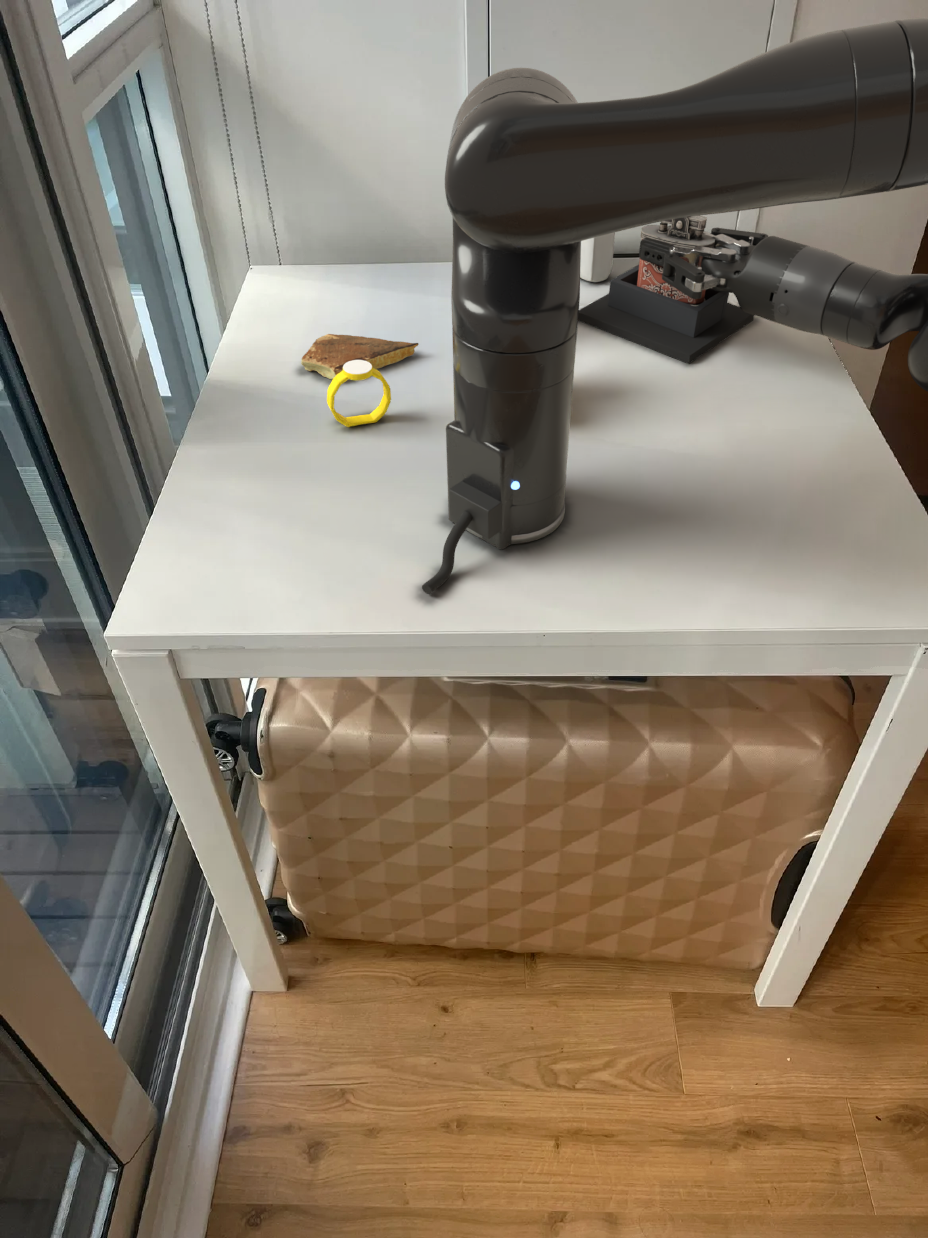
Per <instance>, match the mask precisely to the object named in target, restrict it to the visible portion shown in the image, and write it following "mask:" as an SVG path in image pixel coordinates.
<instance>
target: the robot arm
mask: <svg viewBox="0 0 928 1238" xmlns="http://www.w3.org/2000/svg"><path fill="white" fill-rule="evenodd" d="M450 133H451V134H450V140H449V144H448V149H447V155H446V160H445V161H446V162H445V171H444V192H445V194H444V195H445V199H446V203H447V207H448V209H449V212H450V214H451V216H452V217H451V218H452V260H451V261H452V263H451V265H452V266H451V288H450V289H451V291H450V293H451V295H450V297H451V298H450V300H451V325H452V326H451V327H452V329H451V330H452V331H451V332H452V373H453V375H452V376H453V413H454V416H453V417H454V418H453V419H454V420H452V421H450V422H448V424H447V425H446V426H445V445H446V446H445V447H446V477H447V478H446V479H447V480H446V481H447V507H448V508H447V509H448V521H450V522H452V523H453V524H454V525H453V526H452V528H451V530H450V531H449V533H448V535H447V538H446V539H445V541H444V545H443V549H442V562H441V566H440V568H439V570H438V571H437V573H436V574H435V575H434V576H432V577H431V578H429V579H428V580H426V582H424V583H423V584H422V585H421V589H422V591H423V592H424V593H425V594H426V595H431V594H432V593H433V592H434V591H435V590H437V589H438V588H440V587H441V586H442V585H443V584H445V583H446V581H447V580H448V579H449V577H450V576H451V574H452V572H453V570H454V566H455V554H456V549H457V546H458V544H459V541H460V540H461V538H462V536H463V534H464V533H465V532H466V531H467V532H469V533H470V534H472V536H475V537H477V538H479V539H481V540H483V541H484V542H486V543H488V544H490V545H492V546H493V547H495V548H497V549H499V550H505V549H506V548H507V547H509V546H511V545H515V544H525V543H530V542H535V541H537V540H540V539H542V538H545V537H547V536H549V535H550V534H552V533H553V532H554V531H555V530H557V528H559V526H560V525H561V524H562V523H563V520H564V518H565V514H566V485H567V483H566V482H567V471H568V470H567V469H568V458H569V457H568V456H569V443H570V429H571V417H572V416H571V415H572V403H573V388H574V377H575V363H576V354H577V353H576V352H577V341H578V340H577V338H578V337H577V336H578V325H579V323H578V322H579V321H578V312H579V310H580V300H581V299H580V298H581V278H580V262H581V241H583V240H587V239H591V238H594V237H598V236H602V235H606V234H610V233H614V232H615V233H618V232H623V231H626V230H631V229H634V228H638V227H644V226H647V225H653V224H655V223H656V224H657V223H661V221H666V220H671V219H677V218H683V217H691V216H698V215H700V216H707V215H716V214H717V215H718V214H725V213H733V212H742V211H749V210H757V209H763V208H771V207H777V206H784V205H792V204H802V203H811V202H812V203H813V202H822V201H831V200H839V199H845V198H846V199H847V198H851V197H859V196H866V195H874V194H880V193H881V194H882V193H887V192H893V191H898V190H899V191H900V190H905V189H911V188H916V187H920V186H921V187H922V186H928V17H913V18H911V17H910V18H901V19H897V20H896V19H895V20H893V21H887V22H879V23H874V24H868V25H862V26H856V27H851V28H850V27H849V28H845V29H837V30H832V31H827V32H823V33H819V34H815V35H811V36H808V37H803V38H801V39H797V40H794V41H791V42H788V43H785V44H782V45H780V46H778V47H774V48H772V49H770V50H767V51H765V52H763V53H761V54H757V55H756V56H754V57H750V58H749V59H747V60H744V61H743V62H740V63H738V64H736V65H734V66H732V67H730V68H727V69H725V70H724V71H721V72H719V73H717V74H715V75H712V76H710V77H707V78H706V79H703V80H701V81H698V82H695V83H693V84H690V85H687V86H685V87H682V88H679V89H674V90H670V91H666V92H663V93H658V94H652V95H646V96H640V97H629V98H620V99H611V100H603V101H602V100H601V101H587V102H585V101H584V102H578V101H577V99H576V97H575V96H574V94H573V93H572V92H571V90H570V89H568V87H567V86H566V85H565V84H563V83H562V81H560V80H559V79H558V78H556V77H555V76H553V75H551V74H550V73H548V72H545V71H542V70H539V69H536V68H532V67H512V68H507V69H504V70H500V71H497V72H495V73H493V74H491V75H489V76H488V77H486V78H484V79H483V80H482V81H480V82H479V83H478V84H477V85H476V86H474V88H472V90H471V91H470V92H469V93H468V95H467V96H466V97H465V98H464V100H463V102H462V104H461V105H460V107H459V109H458V111H457V113H456V116H455V119H454V121H453V125H452V128H451V132H450ZM671 225H672V224H669V225H668V226H669V227H671ZM710 230H711V232H708V231H705V230H704V232H703V234H705V235H709V236H712V238H713V239H715V244H714V248H708V247H703V246H695V247H694V248H693V249H687V248H682V247H677V246H674V245H671V244H668V243H665V242H661V241H657V240H654V239H651V238H645V239H643V240H642V239H641V240H640V241H639V251H638V257H639V260H640V259H641V260H644V261H647V262H650V263H653V264H656V265H659V266H662V267H663V273H662V280H664V281H665V282H667V283H668V284H670V285H671V286H673V287H675V288H676V289H678V290H679V291H681V292H682V293H684V294H685V295H687V296H689V297H690V298H692V299H700V298H701V296H702V290H705V289H709V288H713V289H714V290H716V291H720V292H729V294H733V295H734V297H735V298H736V301H737V304H738V306H739V307H740V308H741V309H742V310H743V311H744V312H747V313H750V314H752V315H754V317H755V316H756V317H759V318H761V319H765V320H768V321H770V322H774V323H777V324H779V325H783V326H786V327H788V328H792V329H794V330H797V331H801V332H804V333H809V334H810V333H811V334H814V335H815V334H816V335H820V336H824V337H827V338H830V339H833V340H835V341H839V342H842V343H845V344H847V345H850V346H854V347H858V348H861V349H864V350H869V351H876V350H880V349H882V348H884V347H885V346H887V345H888V344H890V343H892V342H893V341H894V340H896V339H897V338H898V337H900V336H902V335H904V334H906V333H909V332H917V334H916V335H915V337H913V339H912V341H911V343H910V345H909V348H908V352H907V359H906V360H907V361H906V362H907V369H908V373H909V375H910V376H911V378H912V380H913V381H914V382H915V384H916V385H918V387H920V388H921V389H922V390H923V391H925V392H928V273H911V274H910V273H909V274H907V273H906V274H904V273H902V274H899V273H893V272H890V271H887V270H883V269H881V268H876V267H873V266H870V265H866V264H862V263H859V262H855V261H853V260H850V259H848V258H846V257H843V256H842V255H839V254H837V253H834V252H832V251H828V250H825V249H821V248H818V247H814V246H810V245H807V244H803V243H800V242H796V241H793V240H790V239H786V238H782V237H779V236H775V235H768V234H767V233H764V232H763V233H762V232H755V231H746V230H738V229H731V228H723V227H713V228H711V229H710ZM700 256H702V262H701V267H698V265H699V258H700ZM680 257H684V258H688V260H689V263H688V262H687V261H685V260H683V259H682V258H680Z"/></svg>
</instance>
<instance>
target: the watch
mask: <svg viewBox="0 0 928 1238" xmlns="http://www.w3.org/2000/svg"><path fill="white" fill-rule="evenodd" d="M371 377H374V378H375V379H377V380H380V382H381V383H382V390H383V391H382V392H383V395H382V397H381V399H380V402H379V405H378V406H376V408H375V409H373V410H372V411H371V413H367V414H360V415H359V414H358V415H352V416H344V415H342V414H340V413H339V412H337V410H336V409H335V397H336V394H337V392H338V391H339V389H340V387H341V386H342V385H343V384H344V383H346V382H347V381H349V380H351V381H363V380H364V381H365V380H367V379H370V378H371ZM391 400H392V392H391V386H390V385H389V382H387V380H386V379H385V377H384V375H383V374H382V373H381V371H379V370H378V369H374V368H373V367H372V365H371V364H370V363H369V362H367V361H364V360H352V361H349V362H347V363H345V364H344V365H343V371H341V372H340V373H339V374H337V375H336V376H335V377H334V378H333V379H331V382H330V383H329V386H328V387H327V390H326V403H327V406H328V408H329V410H330V412H331V414H332V415H333V417H334V419H335V421H336V422H338V423H340V424H341V425H343V426H345V427H346V428H350V427H355V426H361V425H366V424H367V425H368V424H375V423H377V422H378V421H379V420H381V418H383V417H384V415H386V414H387V412H388V410H389V408H390V404H391V403H392V401H391Z"/></svg>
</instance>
